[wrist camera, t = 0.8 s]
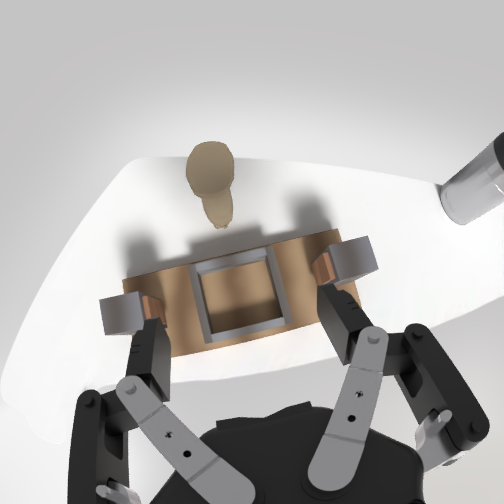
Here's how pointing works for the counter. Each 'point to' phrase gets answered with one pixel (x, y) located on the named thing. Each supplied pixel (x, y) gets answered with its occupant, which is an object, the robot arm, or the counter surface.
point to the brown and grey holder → (240, 292)
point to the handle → (212, 180)
